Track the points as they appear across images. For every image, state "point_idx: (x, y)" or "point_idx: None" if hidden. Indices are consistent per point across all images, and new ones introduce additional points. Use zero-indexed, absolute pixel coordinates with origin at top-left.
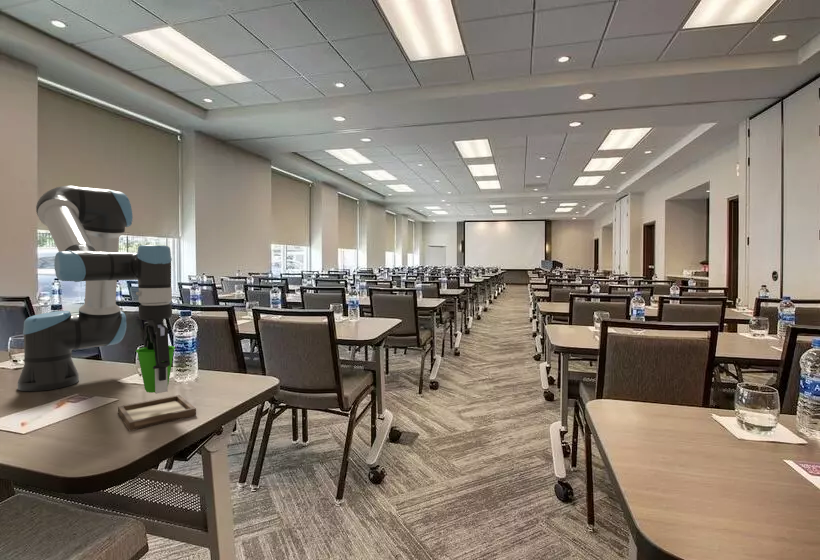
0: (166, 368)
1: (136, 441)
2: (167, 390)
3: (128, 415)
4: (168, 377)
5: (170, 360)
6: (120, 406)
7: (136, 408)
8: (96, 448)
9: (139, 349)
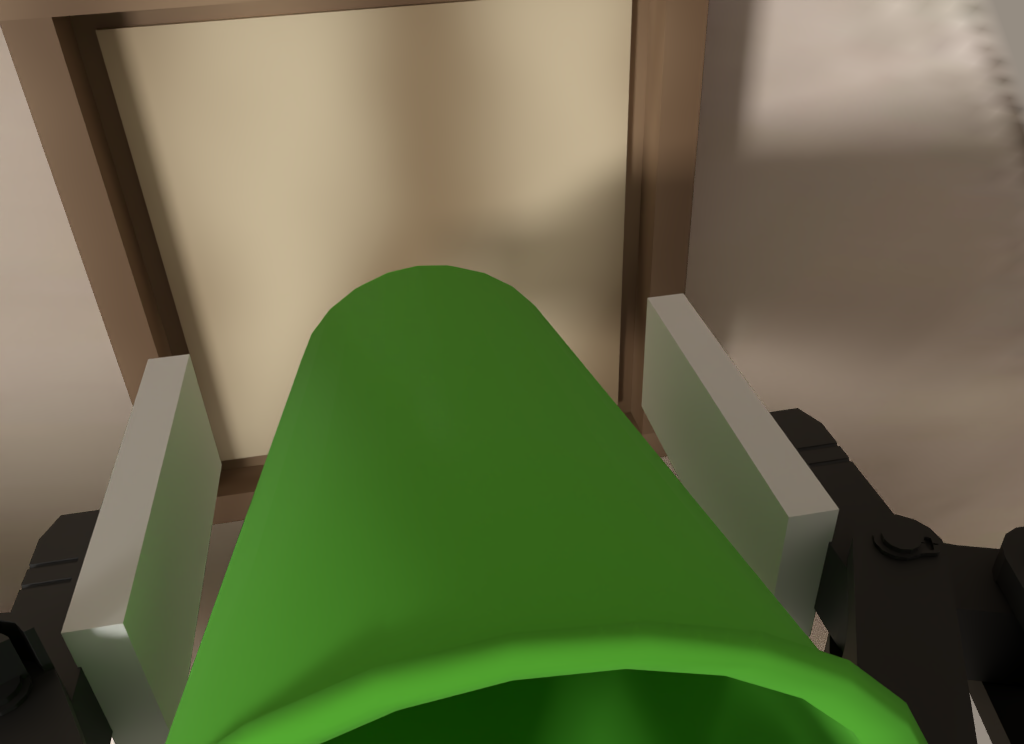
0: (820, 500)
1: (868, 387)
2: (685, 301)
3: None
4: (550, 341)
5: (683, 506)
6: None
7: (208, 391)
8: None
9: None
